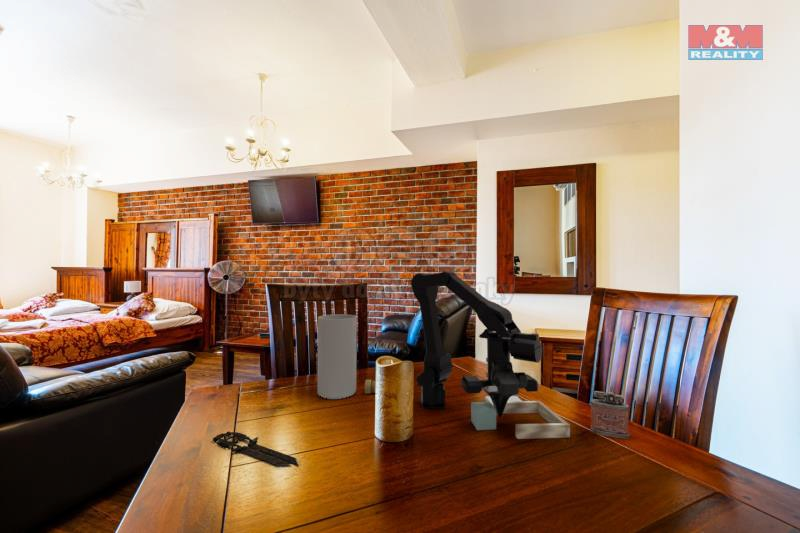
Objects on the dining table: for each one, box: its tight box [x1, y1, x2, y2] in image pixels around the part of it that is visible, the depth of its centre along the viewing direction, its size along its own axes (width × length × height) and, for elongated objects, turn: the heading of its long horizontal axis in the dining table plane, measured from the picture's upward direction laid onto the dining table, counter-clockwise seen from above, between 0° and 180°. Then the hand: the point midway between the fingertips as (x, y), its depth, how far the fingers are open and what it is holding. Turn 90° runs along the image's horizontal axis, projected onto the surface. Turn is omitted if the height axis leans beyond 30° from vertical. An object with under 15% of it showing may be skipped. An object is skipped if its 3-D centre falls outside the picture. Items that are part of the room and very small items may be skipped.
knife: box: [212, 431, 299, 466], centre depth 72 cm, size 25×6×1 cm, turn 57°
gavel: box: [364, 379, 376, 395], centre depth 117 cm, size 21×5×10 cm
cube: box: [470, 401, 497, 431], centre depth 85 cm, size 5×5×5 cm
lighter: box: [590, 390, 630, 439], centre depth 81 cm, size 8×3×10 cm, turn 65°
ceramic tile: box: [484, 395, 523, 406], centre depth 99 cm, size 10×8×1 cm
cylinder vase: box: [317, 313, 358, 400], centre depth 108 cm, size 12×12×25 cm
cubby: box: [496, 400, 571, 440], centre depth 86 cm, size 13×15×3 cm
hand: (499, 416), depth 86 cm, fingers closed
